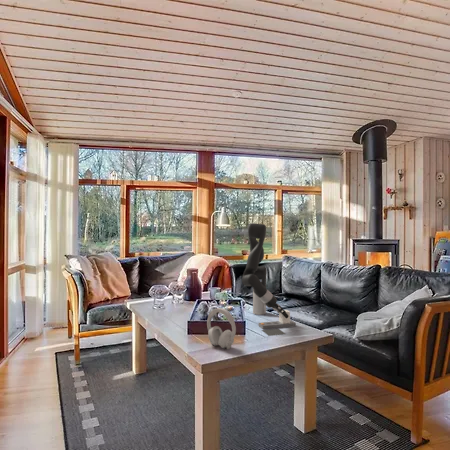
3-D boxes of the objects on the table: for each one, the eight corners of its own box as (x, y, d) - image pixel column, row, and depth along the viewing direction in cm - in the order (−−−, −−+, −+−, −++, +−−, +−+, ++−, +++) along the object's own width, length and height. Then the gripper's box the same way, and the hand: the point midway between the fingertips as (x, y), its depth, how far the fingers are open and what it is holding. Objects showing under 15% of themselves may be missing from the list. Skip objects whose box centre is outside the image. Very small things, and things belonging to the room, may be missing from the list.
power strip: (258, 326, 225) (258, 322, 225) (290, 324, 231) (290, 319, 231) (262, 330, 218) (262, 325, 218) (295, 327, 224) (295, 322, 224)
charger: (279, 324, 228) (279, 310, 228) (286, 324, 229) (286, 309, 229) (282, 326, 223) (282, 312, 223) (289, 326, 224) (290, 311, 224)
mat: (261, 331, 216) (261, 330, 216) (278, 329, 219) (278, 328, 219) (268, 336, 206) (268, 335, 206) (286, 335, 209) (286, 334, 209)
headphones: (202, 344, 193) (202, 306, 193) (213, 340, 199) (213, 304, 199) (229, 353, 180) (229, 313, 180) (239, 349, 186) (240, 310, 186)
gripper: (276, 296, 216) (293, 313, 220) (267, 291, 230) (283, 308, 234) (268, 305, 215) (285, 323, 218) (259, 300, 229) (275, 317, 232)
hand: (284, 315), depth 226 cm, fingers open, 8 cm apart
